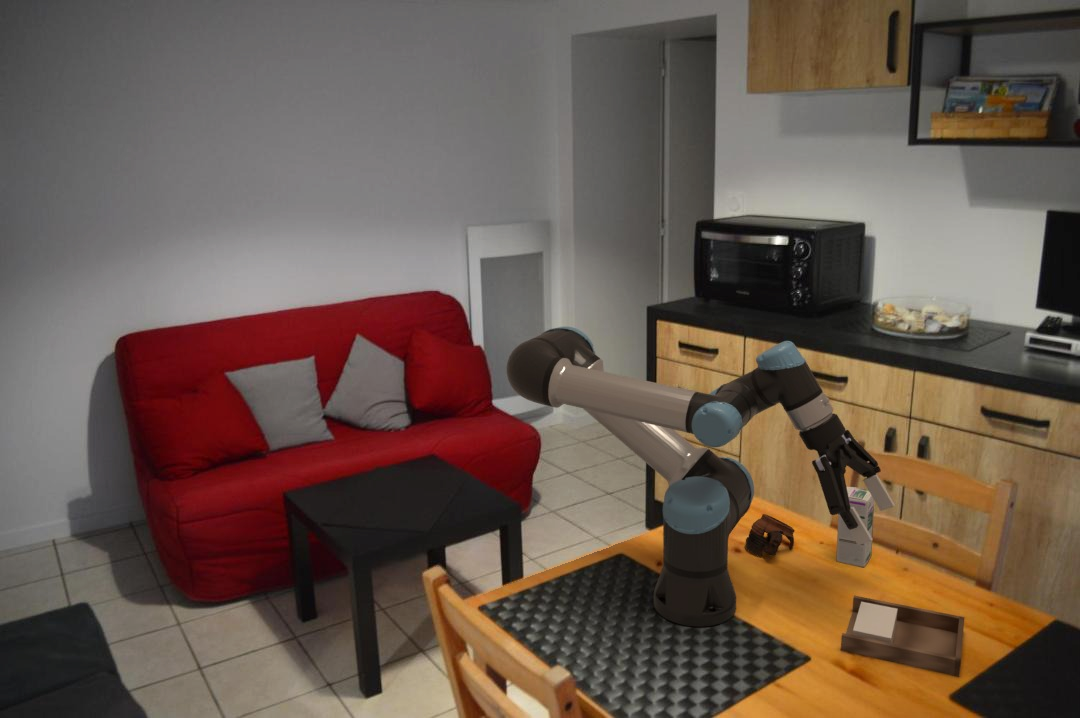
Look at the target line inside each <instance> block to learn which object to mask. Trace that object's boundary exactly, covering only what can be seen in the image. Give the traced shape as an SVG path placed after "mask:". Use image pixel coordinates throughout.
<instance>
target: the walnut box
mask: <svg viewBox="0 0 1080 718" xmlns="http://www.w3.org/2000/svg"><path fill="white" fill-rule="evenodd" d="M861 602H866V603H871V604H876V605H881V606H886V607H891V608H896V609H898V610H897V623H896V628H895V633H894V638H893V642H892V643H887V642H882V641H878V640H873V639H868V638H864V637H859V636H854V635H853V628H854V625H855V621H856V618H857V615H858V611H859V608H860V604H861ZM851 612H852V613H851V615H850V619H849V622H848V625H847V628H846V631H845V633H844V632H842V634H841V637H840V638H841V641H840V642H841V643H840V651H841V652H846V653H851V654H855V655H860V656H863V657H869V658H871V659H877V660H882V661H886V662H890V663H895V664H900V665H904V666H909V667H913V668H918V669H922V670H926V671H932V672H936V673H940V674H944V675H947V676H952V677H953V676H954V677H958V678H959V677H960V675H961V664H962V653H963V652H962V651H963V642H964V629H965V617H964V616H960V615H956V614H950V613H945V612H941V611H936V610H930V609H924V608H920V607H916V606H910V605H906V604H905V605H904V604H900V603H895V602H891V601H890V602H889V601H885V600H879V599H875V598H874V599H873V598H870V597H864V596H859V595H853V599H852V611H851Z"/></svg>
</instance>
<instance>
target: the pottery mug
mask: <svg viewBox="0 0 1080 718" xmlns="http://www.w3.org/2000/svg"><path fill="white" fill-rule="evenodd" d="M795 531H796V530H795V529H794V528H793V527H792V526H790V525H788V524H787V523H785V522H783V521H781V520H779V519H777V518H776V517H773V516H771V515H769V514H765V513H762V515H761V517H760V518H758V519H756V521H754V522H753V523H752V524H751V529H750V530H749V533H748V536H747V537H746V538H745V545H744V548H745V549H746V550H747V551H748V552H749V553H751V554H752V555H755V556H756V557H758V556H759V558H761V557H762V555H763V554H762V553H765V554H766V555H767V556H770V557H771V556H776V555H777V553H778V552H779V547H780V546H781V544H782V542H783V536H784V537H786V539H787V540H788V541H789V545H788V546H789V547H788V548H789V549H790V550H792V549H794V544H795V538H794V537H795V536H794V533H795ZM765 533H766V536H765Z"/></svg>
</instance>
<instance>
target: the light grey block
mask: <svg viewBox="0 0 1080 718" xmlns="http://www.w3.org/2000/svg"><path fill="white" fill-rule="evenodd" d="M897 610H898V609H896V608H891V607H886V606H881V605H876V604H871V603H866V602H861V604H860V608H859V611H858V615H857V618H856V621H855V625H854V628H853V635H854V636H859V637H864V638H868V639H873V640H878V641H882V642H887V643H892V642H893V638H894V633H895V628H896V623H897Z"/></svg>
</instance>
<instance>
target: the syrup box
mask: <svg viewBox="0 0 1080 718" xmlns="http://www.w3.org/2000/svg"><path fill="white" fill-rule="evenodd" d="M846 487H847V492H848V497H849V503H850V508H851V507H854V508H855V510H856V511H857V513H858V515H859V516H860V518H861V520H862V522H863V523H864V525H865V527H866V528H867V530H868V532H869V533H870V535H871V537H872V538H873V533H874V510H875V509H874V507H875V500H874V499H873V497H872V495H871V494H870V492H869V490H868V489H867V488H863V487H855V486H846ZM836 540H837V541H836V561H837V562H838V563H842V564H846V565H849V566H850V565H851V566H855V567H859V568H860V567H861V568H865V567H866V566H867V564H868V562H869V561H870V559H871V557H872V554H873V552H872V550H873V540H872V541H871V542H867V543H864V544H860V545H857V543H856V541H855V540H854V538H853V536H852V534H851V533H850V531H849V529H848V528H847V526H846V524H845V523H844V521H843V519H842V518H841V516H840V515H839V514H837V539H836Z"/></svg>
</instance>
